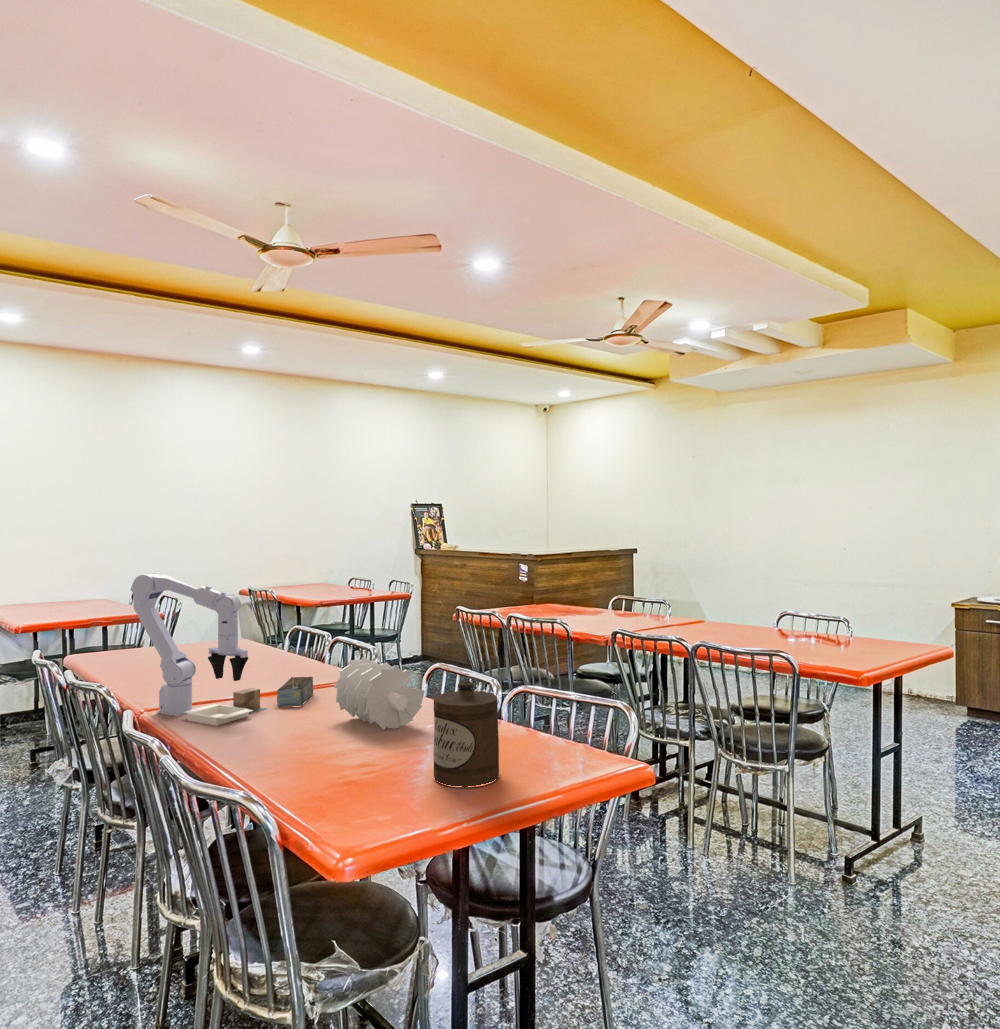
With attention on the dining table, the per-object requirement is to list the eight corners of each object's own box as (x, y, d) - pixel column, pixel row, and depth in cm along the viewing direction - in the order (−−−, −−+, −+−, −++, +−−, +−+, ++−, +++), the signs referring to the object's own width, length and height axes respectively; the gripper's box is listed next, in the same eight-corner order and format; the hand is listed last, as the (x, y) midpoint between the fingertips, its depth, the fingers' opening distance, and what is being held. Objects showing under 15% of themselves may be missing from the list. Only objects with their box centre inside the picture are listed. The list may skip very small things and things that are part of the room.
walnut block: (242, 713, 225) (242, 693, 226) (233, 711, 227) (233, 692, 227) (260, 708, 232) (260, 689, 232) (250, 707, 234) (250, 687, 234)
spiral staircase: (386, 748, 204) (342, 725, 223) (434, 711, 214) (389, 692, 233) (362, 693, 199) (320, 674, 218) (413, 658, 209) (368, 643, 228)
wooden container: (420, 777, 169) (420, 680, 169) (468, 763, 179) (468, 671, 179) (463, 794, 158) (463, 690, 158) (512, 777, 168) (512, 680, 169)
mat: (225, 712, 228) (225, 711, 228) (247, 706, 236) (247, 705, 236) (246, 716, 223) (246, 715, 223) (268, 709, 231) (268, 708, 231)
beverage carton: (275, 708, 234) (275, 687, 235) (290, 695, 254) (290, 675, 254) (301, 708, 235) (301, 687, 235) (313, 694, 254) (314, 675, 254)
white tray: (181, 720, 218) (181, 712, 218) (214, 711, 229) (214, 703, 229) (222, 727, 211) (222, 719, 211) (254, 718, 221) (254, 709, 221)
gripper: (255, 634, 228) (255, 679, 228) (221, 631, 235) (221, 675, 234) (237, 637, 222) (237, 683, 221) (203, 634, 228) (203, 679, 228)
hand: (228, 679), depth 227 cm, fingers open, 7 cm apart
